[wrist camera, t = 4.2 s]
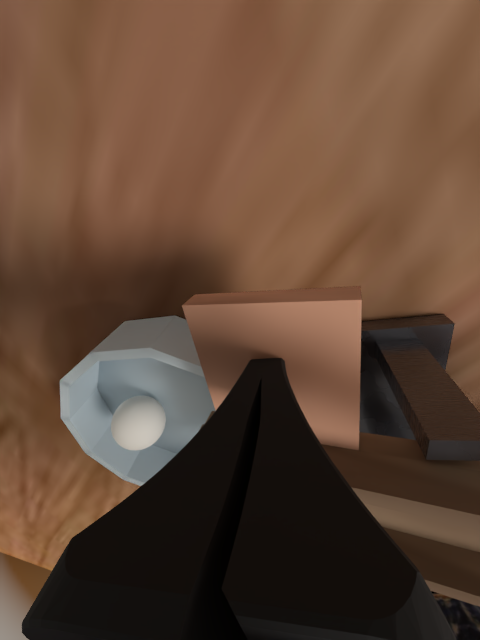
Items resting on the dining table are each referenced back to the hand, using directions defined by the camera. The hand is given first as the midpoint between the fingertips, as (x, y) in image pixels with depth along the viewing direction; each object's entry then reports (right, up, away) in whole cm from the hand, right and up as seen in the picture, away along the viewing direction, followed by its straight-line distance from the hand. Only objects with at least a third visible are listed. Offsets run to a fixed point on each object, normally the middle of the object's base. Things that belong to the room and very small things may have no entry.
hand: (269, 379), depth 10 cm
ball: (-8, -5, +8) cm, 12 cm away
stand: (+8, -2, +7) cm, 10 cm away
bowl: (-6, -3, +10) cm, 12 cm away
